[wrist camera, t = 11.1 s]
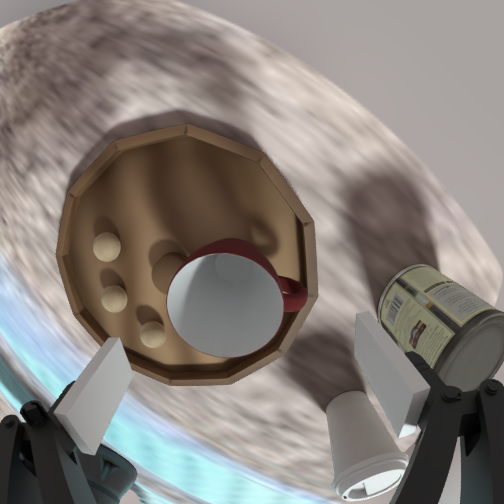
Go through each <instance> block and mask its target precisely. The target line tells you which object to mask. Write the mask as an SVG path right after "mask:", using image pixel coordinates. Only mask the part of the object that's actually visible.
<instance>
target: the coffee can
mask: <svg viewBox="0 0 504 504" xmlns="http://www.w3.org/2000/svg"><path fill="white" fill-rule="evenodd" d="M378 320H379V324H380V325H381V326H382V327H383V329H384V330H385V331H386V332H387V333H388V335H389V336H390V337H391V338H392V339H393V341H394V342H395V343H396V344H397V346H398V347H399V348H400V349H401V350H402V352H403V353H406V352H410V351H414V352H415V353H417V354H419V355H421V356H422V357H423V359H424V360H425V361H426V363H428V364H429V366H430V367H431V368H432V369H433V370H434V371H435V373H436V374H437V375H438V376H439V377H440V378H441V380H442V381H443V382H444V383H445V384H446V386H455V387H458V388H459V389H461V390H462V392H467V391H473V390H478V388H479V386H480V384H481V382H483V381H484V380H487V379H492V378H493V377H494V375H495V374H496V373H497V371H498V370H499V368H500V366H501V365H502V363H503V361H504V312H502V311H499V310H497V309H496V308H494V307H493V306H491V305H490V304H488V303H487V302H485V301H484V300H482V299H481V298H479V297H478V296H476V295H475V294H473V293H472V292H470V291H469V290H467V289H466V288H464V287H462V286H461V285H459V284H458V283H456V282H454V281H453V280H451V279H450V278H448V277H446V276H445V275H443V274H442V273H440V272H438V271H437V270H436V269H434V268H433V267H431V266H429V265H425V264H416V265H412V266H409V267H407V268H405V269H403V270H402V271H400V272H399V273H398V274H396V275H395V276H394V277H393V278H392V279H391V280H390V282H389V283H388V284H387V286H386V288H385V289H384V291H383V293H382V295H381V298H380V301H379V305H378Z"/></svg>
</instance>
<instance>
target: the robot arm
mask: <svg viewBox="0 0 504 504" xmlns="http://www.w3.org/2000/svg"><path fill="white" fill-rule="evenodd" d="M354 357H355V358H356V360H357V362H358V364H359V365H360V367H361V369H362V371H363V373H364V375H365V376H366V378H367V380H368V382H369V384H370V385H371V387H372V389H373V391H374V393H375V395H376V397H377V398H378V400H379V402H380V404H381V406H382V408H383V410H384V412H385V413H386V415H387V417H388V419H389V421H390V423H391V425H392V427H393V429H394V431H395V433H396V435H397V437H398V438H401V437H404V436H406V435H409V434H412V433H414V431H415V429H416V427H417V424H418V426H419V427H420V429H421V432H420V434H419V436H418V439H417V441H416V443H415V444H416V446H415V448H414V451H413V453H412V456H411V458H410V461H409V463H408V465H407V468H406V470H405V472H404V475H403V477H402V479H401V481H400V483H399V486H398V488H397V490H396V492H395V494H394V496H393V498H392V500H391V502H390V503H389V504H438V502H439V499H440V497H441V494H442V491H443V488H444V485H445V482H446V479H447V476H448V473H449V469H450V466H451V462H452V459H453V454H454V450H455V446H456V442H457V438H458V437H459V436H460V446H461V497H460V504H504V386H503V384H502V383H501V382H499V381H498V380H495V379H487V380H484V381H483V382H481V384H480V386H479V388H478V390H473V391H467V392H462V390H461V389H459V388H458V387H455V386H446V384H445V383H444V382H443V381H442V380H441V378H440V377H439V376H438V375H437V374H436V373H435V371H434V370H433V369H432V368H431V367H430V366H429V364H428V363H426V361H425V360H424V359H423V357H422V356H421V355H419V354H417V353H415V352H414V351H410V352H406V353H403V352H402V350H401V349H400V348H399V347H398V346H397V344H396V343H395V342H394V341H393V339H392V338H391V337H390V336H389V335H388V333H387V332H386V331H385V330H384V329H383V327H382V326H381V325H380V324H379V323H378V321H377V320H376V319H375V318H374V317H373V316H372V314H371V313H370V312H363V313H358V314H356V327H355V345H354ZM133 376H134V374H133V371H132V369H131V366H130V364H129V361H128V359H127V356H126V354H125V351H124V348H123V345H122V343H121V340H120V337H114V338H108V339H107V340H106V342H105V343H104V344H103V346H102V347H101V348H100V349H99V351H98V352H97V353H96V355H95V356H94V357H93V359H92V360H91V361H90V362H89V364H88V365H87V366H86V368H85V369H84V370H83V372H82V373H81V375H80V376H79V377H78V379H77V380H76V381H73V382H71V383H70V384H69V385H67V386H66V388H65V389H64V390H63V393H61V395H60V396H59V398H58V399H57V400H56V401H55V403H54V404H53V406H52V407H51V408H50V410H49V411H48V413H47V412H46V410H45V409H44V407H43V405H42V404H41V402H39V401H35V400H34V401H29V402H27V403H26V404H24V405H23V406H22V408H21V410H20V414H21V415H22V417H23V418H24V420H25V421H26V422H21V421H20V420H19V418H18V417H17V416H16V415H8V416H5V417H4V418H3V419H2V421H1V423H0V504H119V502H120V499H121V498H122V496H123V495H124V494H125V493H126V492H127V491H128V490H129V488H130V487H131V486H132V485H133V484H134V483H135V480H136V477H137V471H136V469H135V468H134V467H133V466H132V465H131V464H130V463H129V462H128V461H127V460H125V459H124V458H122V457H121V456H119V455H118V454H116V453H114V452H113V451H111V450H109V449H107V448H105V447H103V446H100V443H101V441H102V439H103V437H104V434H105V432H106V430H107V428H108V426H109V424H110V422H111V420H112V418H113V416H114V414H115V412H116V410H117V408H118V406H119V404H120V402H121V400H122V398H123V396H124V394H125V392H126V390H127V388H128V386H129V384H130V382H131V380H132V378H133Z"/></svg>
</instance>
